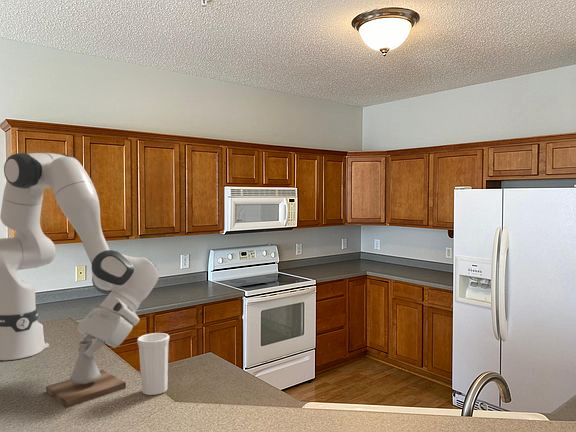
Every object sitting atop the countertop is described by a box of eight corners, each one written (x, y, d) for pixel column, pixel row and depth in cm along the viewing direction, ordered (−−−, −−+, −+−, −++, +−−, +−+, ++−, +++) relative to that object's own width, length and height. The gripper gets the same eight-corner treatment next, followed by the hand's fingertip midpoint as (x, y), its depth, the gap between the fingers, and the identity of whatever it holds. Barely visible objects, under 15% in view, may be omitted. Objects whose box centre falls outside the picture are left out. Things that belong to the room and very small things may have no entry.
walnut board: (46, 391, 117) (46, 386, 117) (102, 374, 128) (102, 369, 128) (67, 407, 107) (67, 401, 107) (125, 387, 118) (125, 382, 118)
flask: (86, 386, 113) (86, 348, 113) (64, 382, 116) (63, 344, 115) (106, 375, 120) (106, 339, 119) (85, 371, 122) (85, 336, 122)
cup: (138, 388, 118) (136, 335, 118) (169, 383, 121) (167, 331, 121) (139, 400, 111) (137, 343, 110) (172, 394, 114) (171, 339, 113)
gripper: (92, 298, 129) (58, 339, 122) (126, 308, 115) (90, 355, 108) (108, 310, 133) (75, 351, 126) (143, 321, 119) (108, 368, 112)
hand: (82, 353), depth 117 cm, fingers closed on flask, 3 cm apart
